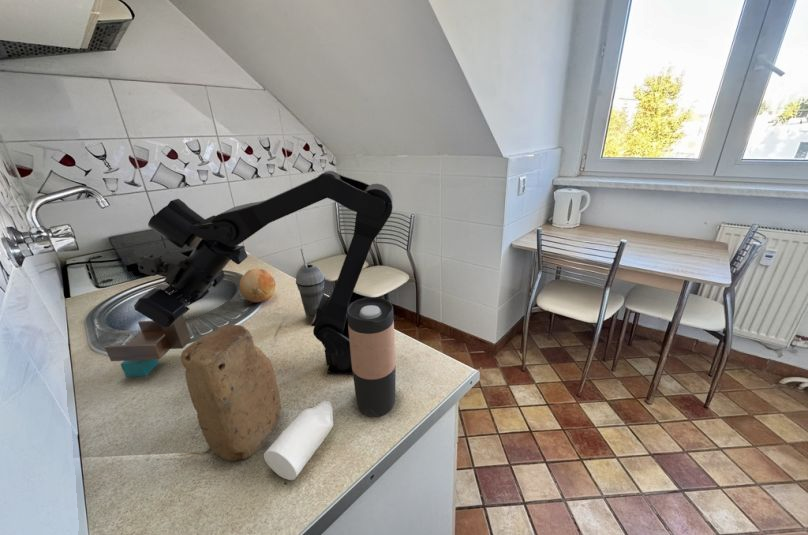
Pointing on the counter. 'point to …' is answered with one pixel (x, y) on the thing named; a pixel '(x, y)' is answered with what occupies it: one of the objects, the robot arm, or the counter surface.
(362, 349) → the travel mug
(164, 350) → the brown angle bracket
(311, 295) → the beverage cup
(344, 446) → the counter surface
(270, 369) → the porous brown stone
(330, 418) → the white bottle
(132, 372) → the cube
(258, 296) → the onion
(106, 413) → the counter surface
